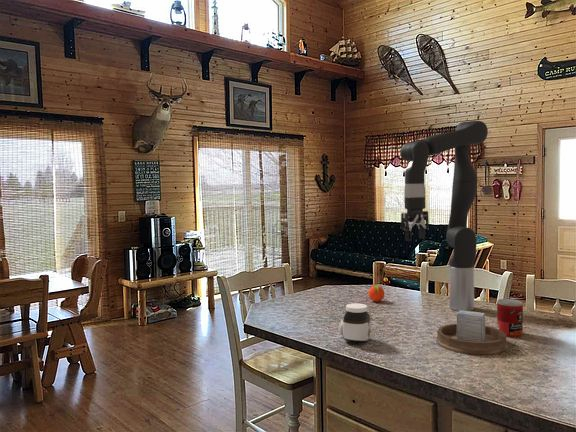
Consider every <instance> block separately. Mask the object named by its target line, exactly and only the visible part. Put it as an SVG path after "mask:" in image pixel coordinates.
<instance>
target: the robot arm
mask: <svg viewBox="0 0 576 432" xmlns="http://www.w3.org/2000/svg"><path fill="white" fill-rule="evenodd" d="M488 133H489V129H488V126H487V125H486V123H485V122H483V121H481V120H470V121H463V122H460V123H458V124H457V126H456V127H455V130H453V131H448V132H442V133H437V134H435V135H431V136H428V137H425V138H423V139H417V140H413V141H409V142H406V143H404V144H403V145H401V148H400V150H399V152H400V153H399V154H400V157H401V158H402V160H404V161H405V162H412V164H411V166H410V167H408V168H407V169H405V171H404V190H403V191H404V200H403V201H404V209H405V210H406V212H401V215H400V219H401V220H400V229H401V230H404V236H405V237H404V239H405V241H406V242H411V241H412V237H413V236H412V234H413V233H412V228H413V227H414V226H415V225H417V227H418V239H420V240H424V239H425V238H426V229H427V228H428V227H429V224H430V222H429V221H430V220H429V211H427V210H425V209H426V207H427V206H426V186H425V180H426V179H425V177H426V176H425V175H426V174H425V172H426V169H427V164H428V161H429V156H430V157H431V156H435V155H437V154H440V153H443V152H446V151H450V150H452V149H454V166H453V167H454V169H453V178H452V186H451V203H450V214H449V219H448V224H447V230H446V234H445V235H446V236H445V237H446V239H445V240H446V242H447V244H448V245H449V246H450V247H451V248H452V249H453V256H452V257H450V259H449V260H448V261H449V270H448V271H449V281H448V282H449V285H448V286H449V287H448V288H449V297H448V299H449V309H450V310H453V311H456V312H457V311H458V312H459V311H460V310H461V311H471V312H472V311H473V310H475V309H474V308H475V285H474V284H475V283H474V282H475V281H474V280H475V279H474V278H475V275H474V274H475V273H474V272H475V269H474V267H475V265H474V264H475V261H476V259H477V235H476V233H475V231H474V230H473V229H472V228H471V227H468V216H469V212H470V209H471V207H472V206H473V203H474V201H475V199H476V196H477V188H478V176H477V172H476V170H475V168H474V165H473V164H472V162H471V157H470V147H471V145H478V144H481V143H483V142H485V140H486V139H487V137H488V135H489V134H488Z"/></svg>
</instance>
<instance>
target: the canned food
mask: <svg viewBox="0 0 576 432" xmlns="http://www.w3.org/2000/svg"><path fill="white" fill-rule="evenodd" d="M496 303H497V304H496V305H497V306H496V324H497V326H496V329H499V330H501V331H503V332H504V333H505V334H506V338H520V337H522V336H523V334H524V333H523V332H524V330H523V329H524V328H523V325H524V321H523V320H524V318H523V317H524V312H523V311H524V303H523V301H521V300H518V299H513V298H500V299H497V300H496Z"/></svg>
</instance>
